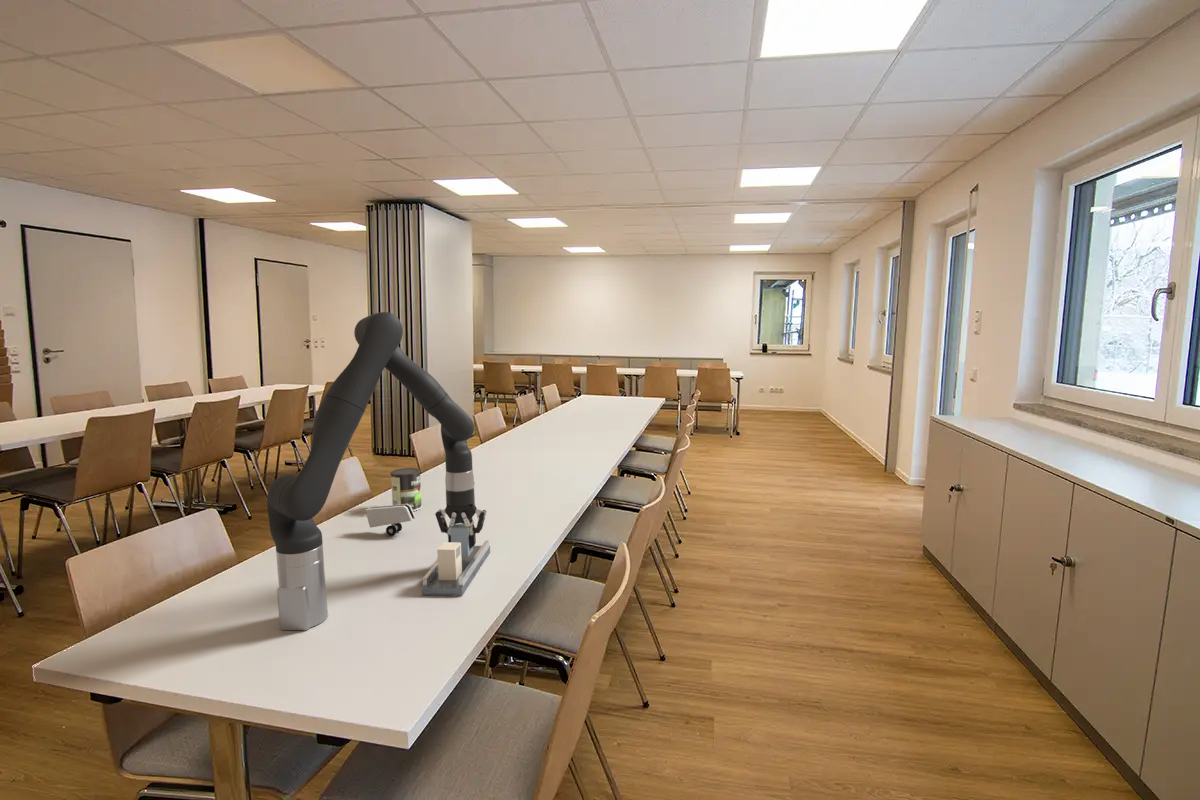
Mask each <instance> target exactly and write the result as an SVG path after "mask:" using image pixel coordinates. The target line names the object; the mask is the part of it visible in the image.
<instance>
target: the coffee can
mask: <svg viewBox="0 0 1200 800" xmlns="http://www.w3.org/2000/svg"><path fill="white" fill-rule="evenodd" d="M390 480H391V481H390V482H391V483H390V485H391V498H392V499H391V500H392V501H391V502H392V505H400V504H409V505H410V506H411V508H412V510H413V511H414V512H417V511H419V509H420V510H421V509H422V508H423V507H422V506H423V505H422V488H421V486H422V485H421V484H422V483H421V469H419V468H415V467H405V468H398V469H394V470H392V471H390ZM416 510H417V511H416Z"/></svg>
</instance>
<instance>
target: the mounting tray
mask: <svg viewBox="0 0 1200 800" xmlns="http://www.w3.org/2000/svg"><path fill="white" fill-rule="evenodd" d="M490 554H491V545H490V540H487V539H486V540H484V542H483V543H482V545H474V546H473V551H472V552H471V554H470V555H469V556H468V557H461V558H462V573H461V574H460V576H459V577H458V579H457V580H439V575H438V560H437V561H436V562H435V563H434V564H433V565H432V567H431V568H429V570H428V571H427V572H426V573H425V575H424V576H423V577H422V587H421V596H428V597H430V596H434V597H436V596H437V597H463V596H464V594H465V592H466V591H467V590H468V588H469V586H470V584H471V583H472V581H473V580H474V578H476V575H477V574H478V572H479V570H480V569H481V568H482V566H483V564H484V563H485V561H486V560H487V558H488V557H489V555H490ZM480 567H481V568H480Z"/></svg>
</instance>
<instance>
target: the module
mask: <svg viewBox="0 0 1200 800" xmlns="http://www.w3.org/2000/svg"><path fill="white" fill-rule="evenodd" d="M469 535H470V534H469V528H468V527H466V525H465V524H463V523H458V524H456V525H455V526H454V527H451V542H461V557H468V556H469V555H470V554H471V552H472V551H473V548H469Z"/></svg>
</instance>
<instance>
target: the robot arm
mask: <svg viewBox="0 0 1200 800" xmlns="http://www.w3.org/2000/svg"><path fill="white" fill-rule="evenodd" d="M403 329H404V328H403V324H402V322H401V320H400V319H399V318H398V317H397V315H395V314H393V313H391V312H387V311H386V312H385V311H383V312H375V313H373V314H370V315H368V316H366V317H363V318H362V319H360V320H358V322H357V323H356V325H355V327H354V333H353V334H354V338H355V341H356V343H357V344H358V346H357V349H356V352H355V353H354V356H353V357H352V359H351V360H350V362H349V363H348V364H347V365H346V366H345V368H344V369H343V371H341V373H340V374H339V375H338V376H337V378H336V379H335V380H333V382H332V384H331V385H330V387H329V388H328V389H327V391H326V393H325V394H324V396H323V398H322V400H321V402H320V405H319V406H318V408H317V411H316V413H315V416H314V418H313V419H314V420H313V426H312V437H311V447H310V451H309V454H308V456H307V458H306V460H305V462H304V465H303V467H302V468H301V470H300V472H299V473H298V474H297V473H286V474H283V475H281V476H279V477H277V478H275V480H274V481H273V482H272V483H271V484H270V486H269V488H268V491H267V495H266V496H267V497H266V507H267V517H268V523H269V531H270V535H271V538H272V541H273V542H274V544H275V553H276V566H277V567H276V569H277V579H278V580H277V582H278V587H277V590H276V594H277V603H278V604H277V606H278V607H277V608H278V617H279V618H278V619H279V629H280V631H281V630H283V631H308V630H309V629H311V628H312V627H315V626H317V625H320V624H321V623H323V622H325V620H327V618H328V616H329V613H328V611H329V610H328V599H327V586H326V585H327V584H326V573H325V571H326V570H325V561H324V559H325V558H324V546H323V533H322V530H320V528H319V527H318V526H317V525H316V523H315V521H314V519H313V518H314V517H316V516H317V515H318V514H319V513H320V512H321V511H322V509H323V508H324V505H325V504H326V502H327V500H328V497H329V494H330V492H331V488H332V486H333V483H334V479H335V477H336V475H337V472H338V469H339V467H340V464H341V461H342V460H343V458H344V455H345V453H346V451H347V448H348V446H349V444H350V443H351V440H352V437H353V436H354V433H355V432H356V429H357V428H358V426H359V423H360V422H361V421H362V418H363V415H364V413H365V412H366V409H367V407H368V404H369V402H370V399H371V398H372V396H373V394H374V391H375V389H376V387H377V384H378V382H379V380H380V377H381V376H382V375H381V374H382V373H383V371H384V369H386V370H387V371H388V372H389V373H390V374H391V375H393V376H394V378H396V380H397V381H399V382H400V383H401V384H402V385H403V387H404V388H405V389H406V390H407V391H408V392H409V393H410V394H411V395H412V396H413V398H414V399H415V400H416V401H417V402H418V404H420V406H421V407H422V408H423V409H424V411H426V413H428V414H429V415H430V416H431V417H432V418H435V420H437V422H438V423H439V424H440V435H441V440H442V444H443V450H444V454H445V455H444V456H445V476H444V477H445V479H444V480H445V481H444V482H445V483H444V484H445V502H446V503H445V504H446V507H445V508H444V509H440V508H439V509H438V510H437V511H436V512H435V513H434V515H435V517H436V520H437V523H438V527H439V530H440V532H441V533H445V534H446V535H447V537H448V538H447V542H451V527H454V526H455V525H456V524H458V523H463V524H465V525H466V527H468V528H469V534H470V535H469V548H473V546H476V542H477V541H476V534H480V533H481V531H482V530H483V528H484V523H485V520H486V516H487V510H486V509H483V510H481V509H477V507H476V501H475V476H474V472H473V469H474V468H473V454H472V451H471V449H470V448H469V446H468V442H467V441H468V440H469V439H471V437H473V435H474V431H475V424H474V421H473V420H472V418H471V417H470V416H469V415H468V413H467V412H466V411H465V410H464V409H463V408H462V407H461V406H460V405H459V404H457V403H456V402H455V400H453V399H452V397H450V395H449V394H448V393H447V391H446V390H445V389H444V388H443V387H442V385H441V384H440V383H439V382H438V381H437V380H436V378H434V376H432V375H431V374H430V373H429V372H428V371H426V370H425V369H424V368H422V367H421V366H420V365H419V364H417V363H416V362H415V361H413V360H412V359H411V358H410V357H409V356H408V355H407V354H405V352H404V351H403V350H402V349H401V348H400V346H399V345H400V343H401V341H402V338H403V334H404V333H403V332H404V330H403ZM475 514H476V518H477V519H478V520H477V523H476V524H477V525H476V526H475V521H474V518H473V517H474V516H475ZM446 515H447V517H448V518H449V520H450V521H449V524H448V523H447V521H446Z"/></svg>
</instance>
